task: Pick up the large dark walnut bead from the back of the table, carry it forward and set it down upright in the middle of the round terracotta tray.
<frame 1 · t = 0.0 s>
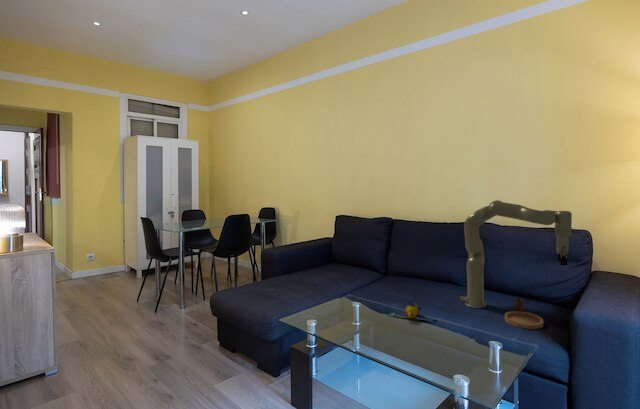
hand: (562, 263, 193), 31 cm above the table, fingers open, 9 cm apart
round tray: (523, 321, 191), on the table
walnut bead: (519, 310, 206), on the table
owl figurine: (412, 318, 203), on the table
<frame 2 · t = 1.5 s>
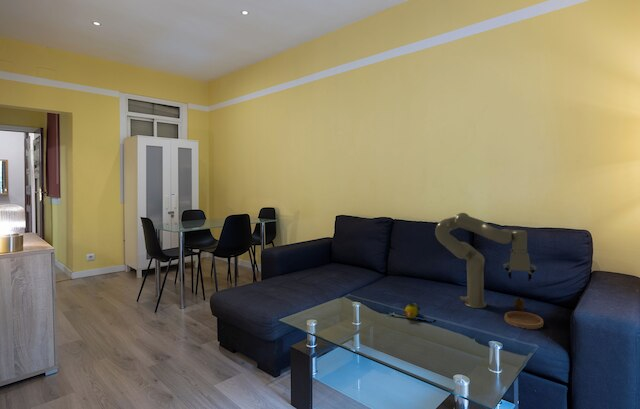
hand: (519, 279, 204), 19 cm above the table, fingers open, 9 cm apart
nothing on the table moved.
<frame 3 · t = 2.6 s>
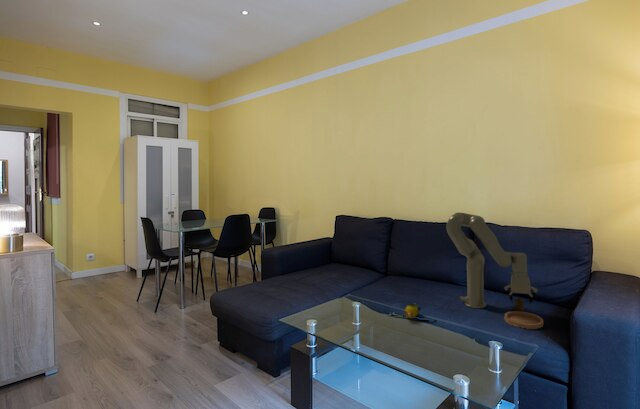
hand: (521, 301, 205), 6 cm above the table, fingers open, 9 cm apart
nothing on the table moved.
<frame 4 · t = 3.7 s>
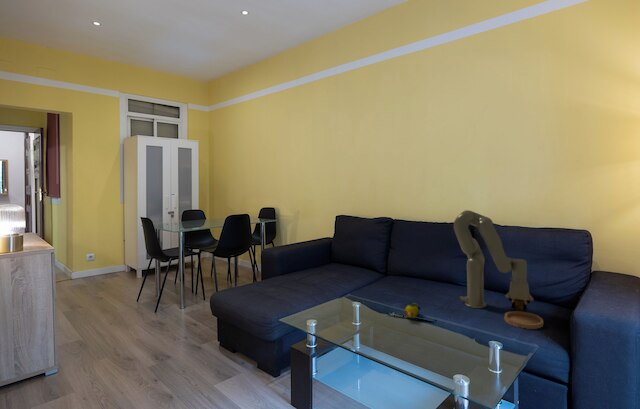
hand: (519, 309, 206), 1 cm above the table, fingers closed on walnut bead, 5 cm apart
walnut bead: (519, 310, 206), on the table, touching gripper
everything else where it was.
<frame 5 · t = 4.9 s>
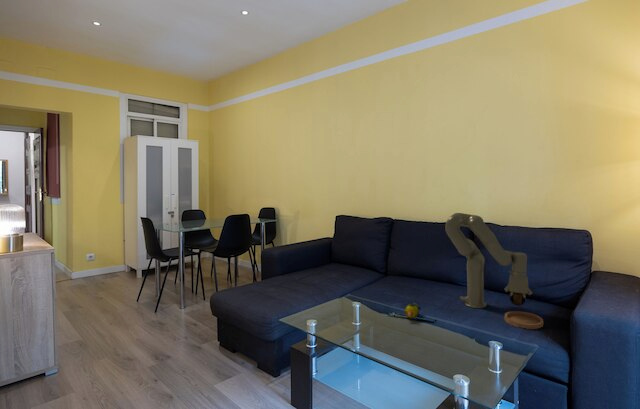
hand: (517, 302, 206), 5 cm above the table, fingers closed on walnut bead, 5 cm apart
walnut bead: (517, 304, 206), point 4 cm above the table, touching gripper
everything else where it was.
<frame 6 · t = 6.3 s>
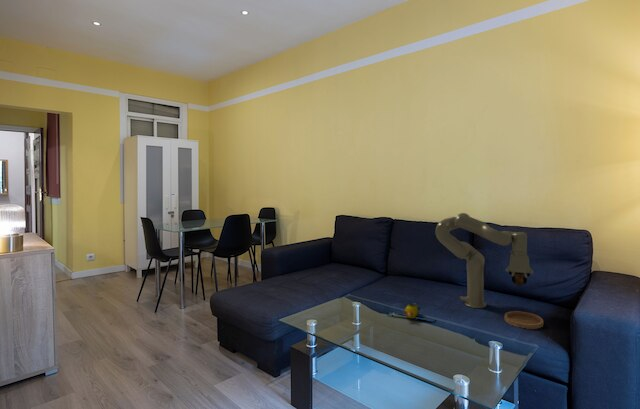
hand: (519, 282, 204), 17 cm above the table, fingers closed on walnut bead, 5 cm apart
walnut bead: (519, 284, 204), point 16 cm above the table, touching gripper
everything else where it was.
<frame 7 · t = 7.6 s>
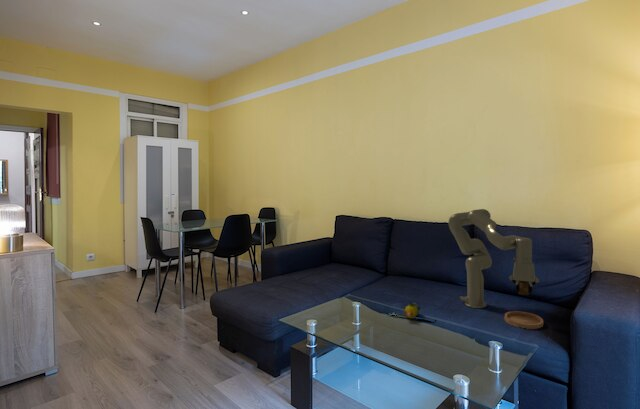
hand: (523, 292, 189), 17 cm above the table, fingers closed on walnut bead, 5 cm apart
walnut bead: (523, 293, 190), point 16 cm above the table, touching gripper
everything else where it was.
when the fingers open (3 cm above the table, at t = 10.4 s): walnut bead drops 2 cm, resting on round tray.
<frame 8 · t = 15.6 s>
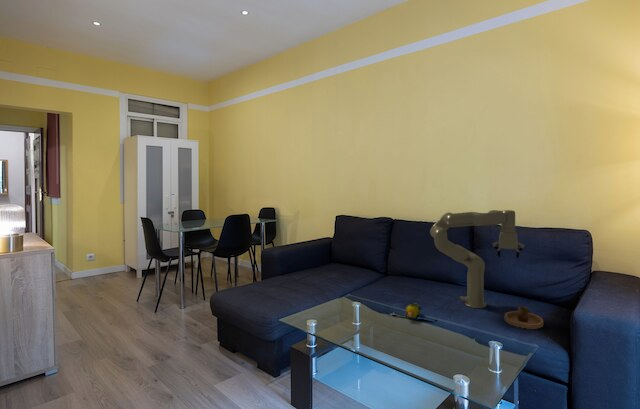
hand: (508, 257, 213), 30 cm above the table, fingers open, 9 cm apart
walnut bead: (523, 320, 191), point 1 cm above the table, touching round tray
everything else where it was.
at the end: walnut bead inside the target area on the round tray (0.2 cm from its centre), point 0.8 cm above the round tray's base; walnut bead tilted 0°; the gripper is holding nothing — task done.
